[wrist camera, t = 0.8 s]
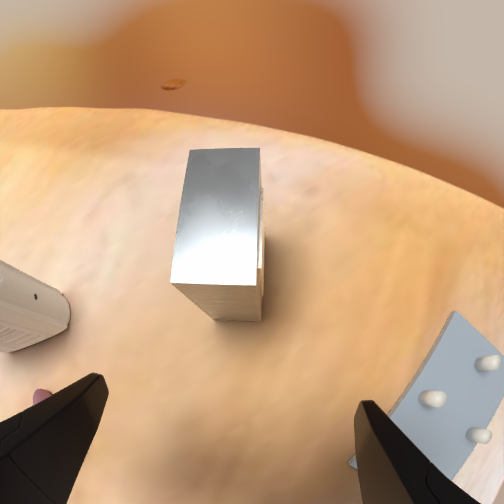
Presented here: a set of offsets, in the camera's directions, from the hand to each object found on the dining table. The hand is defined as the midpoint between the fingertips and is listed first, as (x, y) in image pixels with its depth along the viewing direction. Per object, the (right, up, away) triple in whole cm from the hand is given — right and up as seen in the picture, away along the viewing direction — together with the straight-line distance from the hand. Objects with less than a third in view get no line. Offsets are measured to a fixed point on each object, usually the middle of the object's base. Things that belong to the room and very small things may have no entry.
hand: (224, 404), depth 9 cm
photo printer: (-20, -2, +14) cm, 25 cm away
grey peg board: (+17, -9, +10) cm, 21 cm away
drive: (0, +3, +15) cm, 15 cm away
